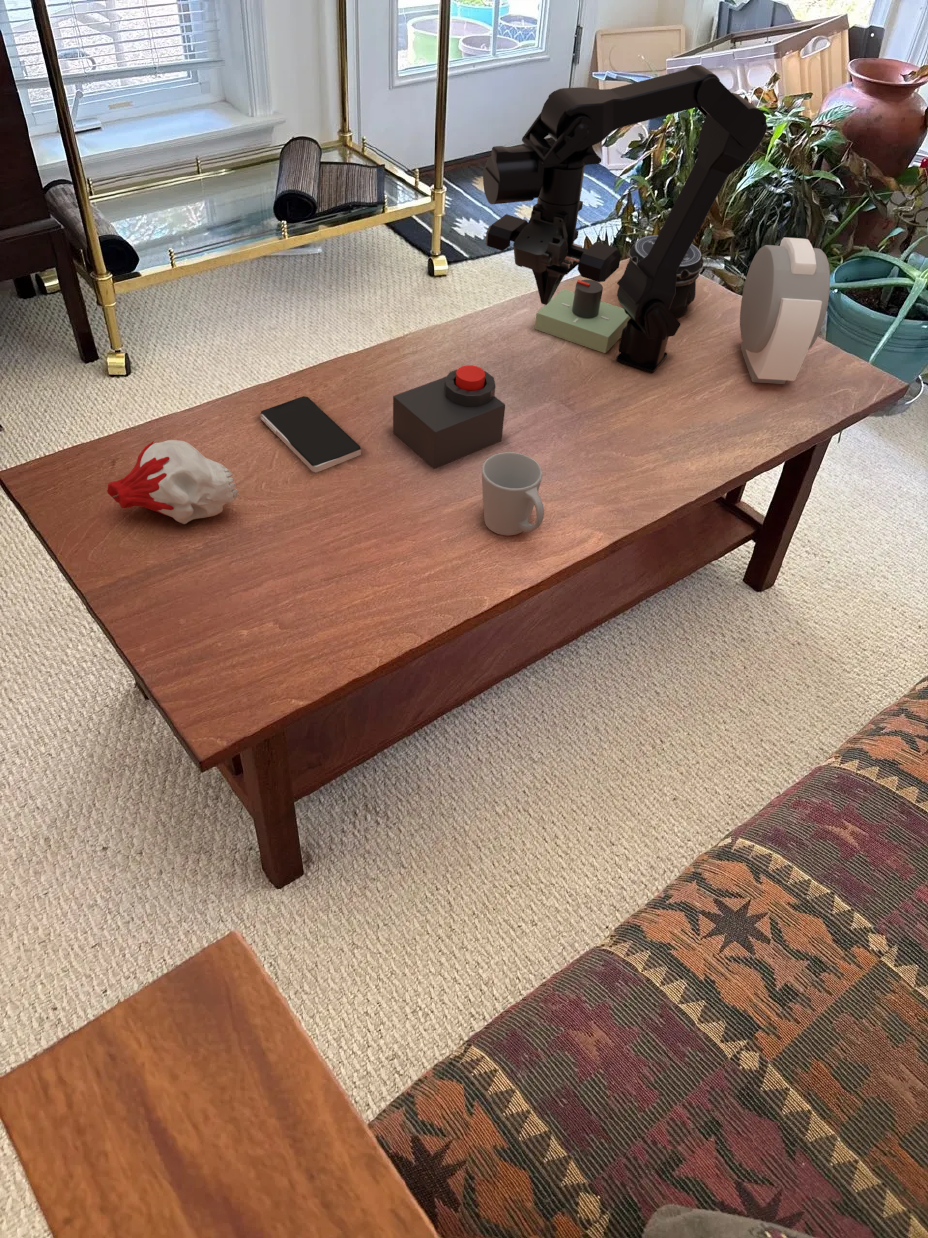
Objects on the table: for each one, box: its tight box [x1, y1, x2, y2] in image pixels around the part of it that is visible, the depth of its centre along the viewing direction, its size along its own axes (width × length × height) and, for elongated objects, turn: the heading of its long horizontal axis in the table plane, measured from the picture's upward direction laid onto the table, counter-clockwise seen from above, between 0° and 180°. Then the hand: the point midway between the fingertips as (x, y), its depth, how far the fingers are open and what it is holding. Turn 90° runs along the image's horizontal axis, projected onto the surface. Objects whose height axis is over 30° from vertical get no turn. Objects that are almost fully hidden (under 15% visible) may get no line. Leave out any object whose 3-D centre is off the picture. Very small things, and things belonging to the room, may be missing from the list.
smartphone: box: [259, 395, 362, 473], centre depth 133 cm, size 8×1×15 cm
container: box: [627, 234, 704, 320], centre depth 162 cm, size 13×13×10 cm
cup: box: [481, 451, 545, 537], centre depth 120 cm, size 8×10×8 cm
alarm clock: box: [739, 237, 831, 385], centre depth 147 cm, size 18×8×20 cm, turn 179°
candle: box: [106, 439, 240, 525], centre depth 119 cm, size 9×11×15 cm
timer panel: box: [534, 288, 630, 354], centre depth 157 cm, size 13×10×3 cm
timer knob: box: [572, 279, 604, 318], centre depth 155 cm, size 4×4×5 cm
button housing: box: [392, 369, 506, 470], centre depth 133 cm, size 13×10×8 cm
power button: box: [456, 364, 485, 391], centre depth 131 cm, size 4×4×2 cm
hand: (545, 303), depth 139 cm, fingers closed
